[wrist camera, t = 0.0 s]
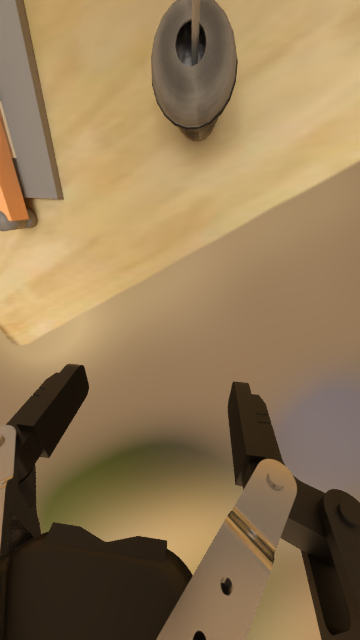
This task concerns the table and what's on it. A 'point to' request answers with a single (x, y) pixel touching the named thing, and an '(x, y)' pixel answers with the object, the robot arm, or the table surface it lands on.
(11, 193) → the swing bar
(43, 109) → the label board
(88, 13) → the table surface
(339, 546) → the robot arm
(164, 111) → the beverage cup
